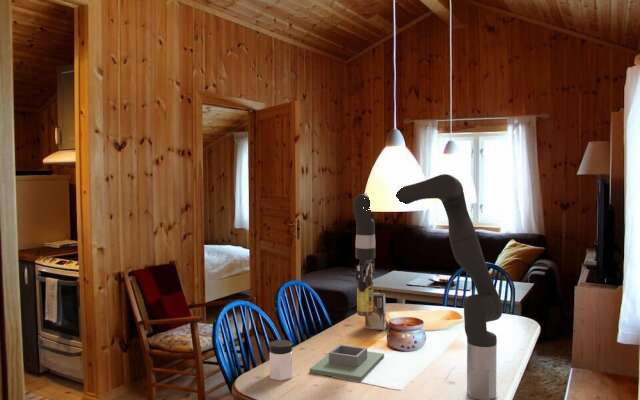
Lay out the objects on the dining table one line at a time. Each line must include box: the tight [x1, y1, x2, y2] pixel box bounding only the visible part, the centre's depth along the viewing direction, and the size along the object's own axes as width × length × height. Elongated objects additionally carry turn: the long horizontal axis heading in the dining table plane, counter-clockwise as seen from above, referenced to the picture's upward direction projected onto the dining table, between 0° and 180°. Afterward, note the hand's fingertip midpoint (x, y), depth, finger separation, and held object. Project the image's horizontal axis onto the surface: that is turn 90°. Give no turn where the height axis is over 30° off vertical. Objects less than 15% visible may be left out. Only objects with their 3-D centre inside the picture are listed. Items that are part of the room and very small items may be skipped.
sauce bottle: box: [356, 263, 374, 317], centre depth 202 cm, size 7×6×20 cm
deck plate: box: [309, 344, 385, 382], centre depth 201 cm, size 26×20×6 cm
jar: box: [268, 339, 293, 382], centre depth 191 cm, size 9×8×12 cm
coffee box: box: [364, 292, 387, 331], centre depth 249 cm, size 9×6×16 cm
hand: (365, 289), depth 202 cm, fingers closed on sauce bottle, 6 cm apart
